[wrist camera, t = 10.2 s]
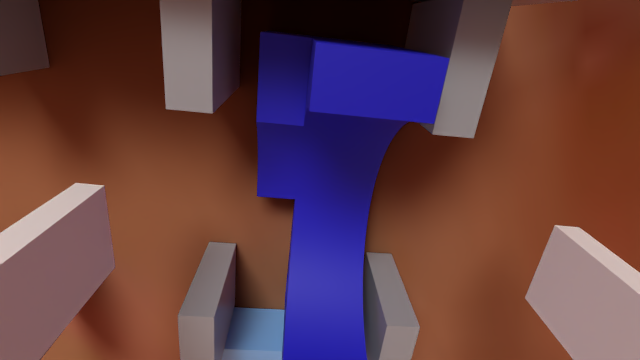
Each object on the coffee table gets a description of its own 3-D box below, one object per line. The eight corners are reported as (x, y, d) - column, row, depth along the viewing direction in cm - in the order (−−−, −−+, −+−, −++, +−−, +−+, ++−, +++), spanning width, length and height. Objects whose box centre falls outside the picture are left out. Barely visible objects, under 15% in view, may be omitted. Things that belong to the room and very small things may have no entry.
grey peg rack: (487, -29, 13) (633, -71, 7) (397, 330, 19) (436, 456, 13) (-332, -141, 10) (-1035, -325, 5) (-123, 305, 17) (-330, 442, 11)
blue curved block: (268, 30, 13) (245, 34, 8) (389, 44, 14) (450, 58, 8) (254, 292, 18) (234, 412, 12) (345, 297, 18) (364, 415, 13)
